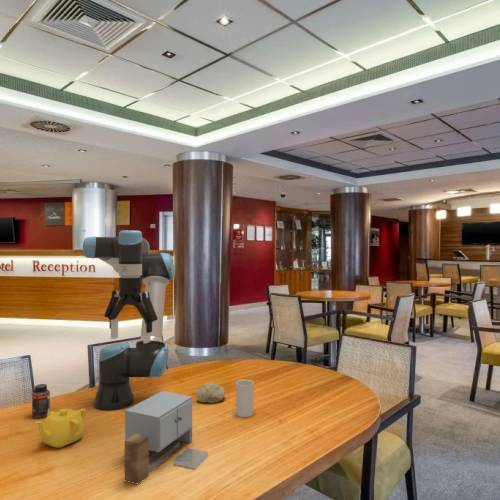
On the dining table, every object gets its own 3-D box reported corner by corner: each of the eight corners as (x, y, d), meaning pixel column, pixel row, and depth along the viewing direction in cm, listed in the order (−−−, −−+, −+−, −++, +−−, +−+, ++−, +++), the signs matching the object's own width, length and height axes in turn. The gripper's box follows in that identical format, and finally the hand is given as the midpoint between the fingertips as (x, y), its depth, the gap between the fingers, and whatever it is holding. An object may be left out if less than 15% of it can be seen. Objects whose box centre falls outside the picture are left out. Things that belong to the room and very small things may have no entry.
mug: (256, 416, 156) (256, 383, 155) (239, 419, 153) (239, 386, 153) (246, 406, 165) (246, 376, 165) (230, 409, 162) (230, 378, 162)
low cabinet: (125, 459, 124) (125, 410, 124) (161, 434, 140) (161, 391, 140) (161, 468, 118) (161, 417, 118) (195, 441, 135) (195, 397, 135)
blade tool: (124, 481, 112) (124, 440, 112) (169, 445, 132) (169, 410, 132) (138, 484, 111) (138, 443, 110) (181, 448, 131) (181, 413, 131)
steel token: (173, 466, 121) (173, 460, 121) (187, 453, 128) (187, 447, 128) (195, 471, 118) (195, 464, 118) (207, 457, 126) (207, 451, 126)
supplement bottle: (53, 414, 157) (53, 384, 157) (39, 420, 151) (39, 389, 151) (42, 411, 159) (42, 382, 159) (28, 417, 154) (28, 386, 154)
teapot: (78, 450, 129) (78, 417, 129) (33, 454, 127) (34, 420, 127) (87, 431, 142) (88, 401, 142) (47, 434, 140) (47, 403, 140)
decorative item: (212, 398, 163) (195, 382, 168) (207, 415, 166) (191, 399, 171) (233, 386, 172) (217, 372, 177) (228, 403, 175) (212, 388, 180)
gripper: (93, 276, 141) (93, 339, 141) (154, 278, 130) (154, 346, 131) (109, 274, 147) (109, 334, 148) (168, 277, 137) (168, 341, 137)
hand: (130, 340), depth 139 cm, fingers open, 13 cm apart
